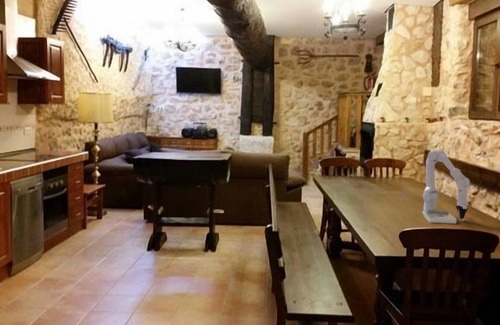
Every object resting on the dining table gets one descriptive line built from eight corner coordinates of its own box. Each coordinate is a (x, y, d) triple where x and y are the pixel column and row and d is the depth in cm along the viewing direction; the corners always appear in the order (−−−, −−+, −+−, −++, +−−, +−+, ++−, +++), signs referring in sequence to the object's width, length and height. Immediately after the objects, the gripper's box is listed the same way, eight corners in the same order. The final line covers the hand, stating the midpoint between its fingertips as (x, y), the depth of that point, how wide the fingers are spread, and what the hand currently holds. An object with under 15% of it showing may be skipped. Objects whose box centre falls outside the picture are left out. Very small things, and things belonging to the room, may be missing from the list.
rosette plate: (423, 216, 322) (424, 209, 322) (449, 217, 320) (449, 210, 319) (429, 222, 304) (429, 215, 304) (456, 223, 302) (456, 216, 302)
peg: (457, 220, 312) (458, 209, 311) (462, 220, 311) (463, 209, 311) (458, 221, 309) (459, 210, 308) (464, 221, 308) (464, 210, 308)
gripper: (472, 199, 301) (471, 220, 302) (465, 195, 315) (464, 215, 316) (460, 198, 302) (459, 220, 303) (454, 194, 316) (453, 215, 317)
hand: (461, 217), depth 310 cm, fingers closed on peg, 3 cm apart
